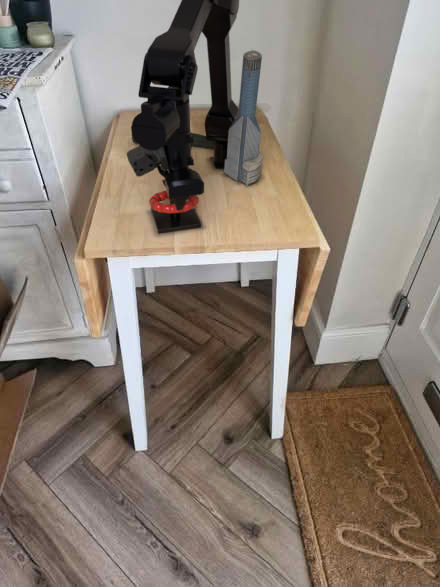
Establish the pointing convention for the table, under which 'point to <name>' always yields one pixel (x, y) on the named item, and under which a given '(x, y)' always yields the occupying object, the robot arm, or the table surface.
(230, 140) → the building
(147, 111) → the robot arm
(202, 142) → the tool
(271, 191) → the table surface
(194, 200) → the ring
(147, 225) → the table surface
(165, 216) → the peg
